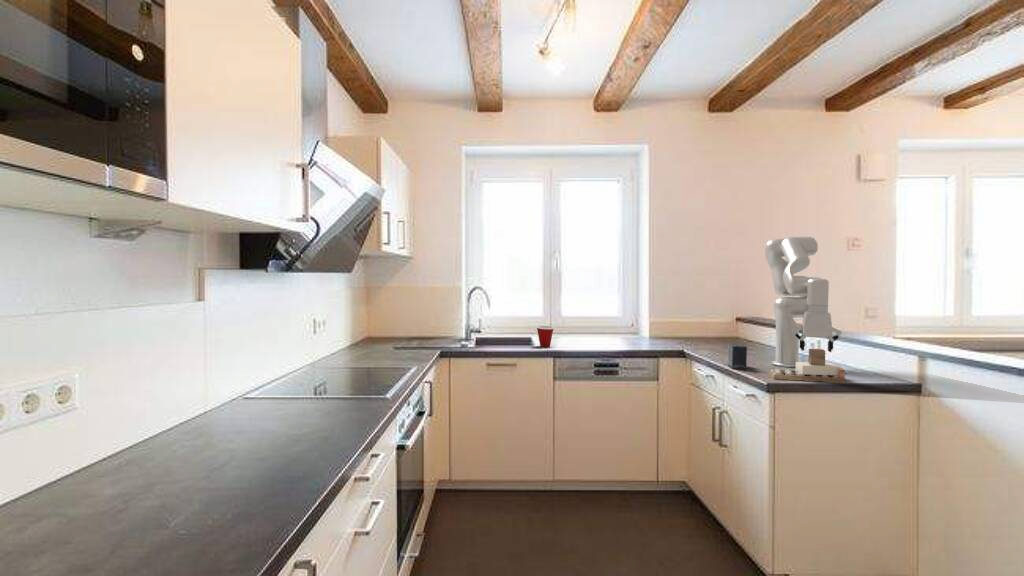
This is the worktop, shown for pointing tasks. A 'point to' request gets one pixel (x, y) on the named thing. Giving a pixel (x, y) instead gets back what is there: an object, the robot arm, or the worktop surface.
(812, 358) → the walnut block
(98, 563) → the worktop surface
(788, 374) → the roller bed
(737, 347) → the small box
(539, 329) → the plastic cup
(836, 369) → the slab
